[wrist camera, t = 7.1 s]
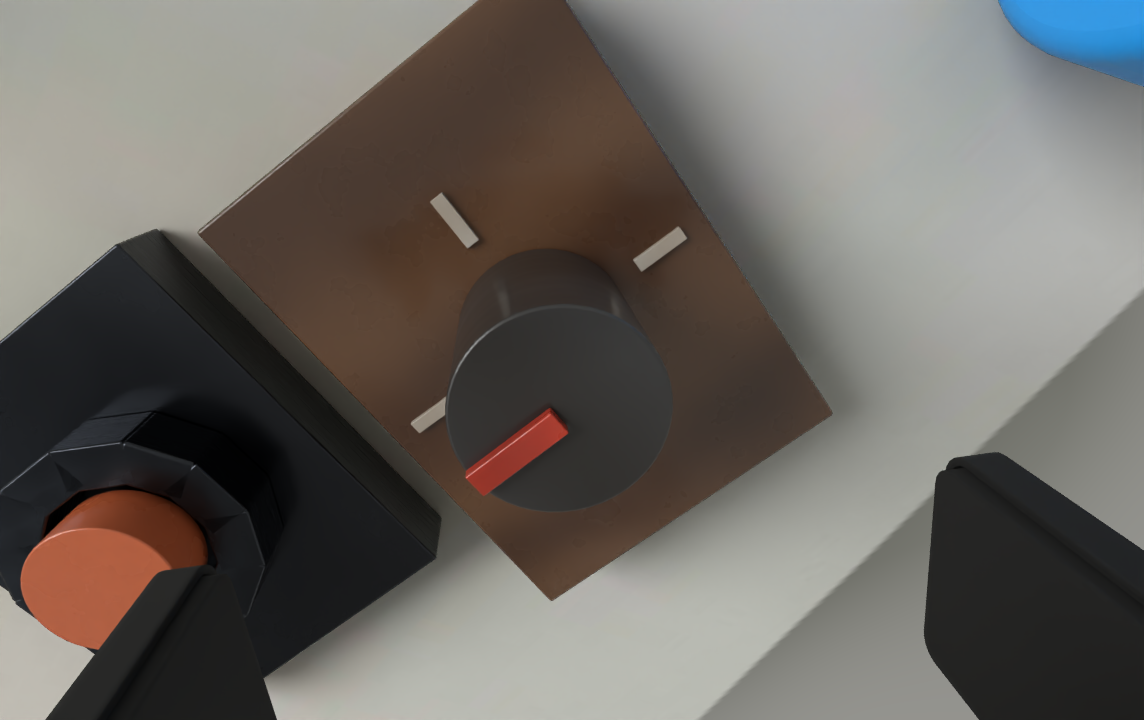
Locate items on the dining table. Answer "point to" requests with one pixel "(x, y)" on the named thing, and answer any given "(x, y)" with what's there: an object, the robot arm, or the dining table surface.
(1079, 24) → the alarm clock
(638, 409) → the dial
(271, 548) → the black button base
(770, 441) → the dial panel
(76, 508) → the push knob
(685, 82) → the dining table surface
